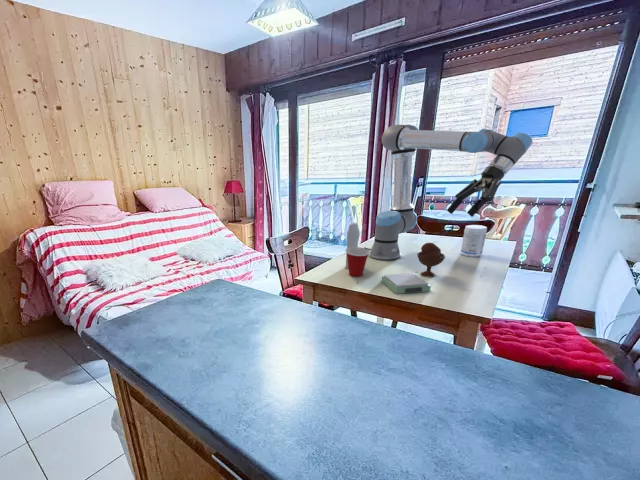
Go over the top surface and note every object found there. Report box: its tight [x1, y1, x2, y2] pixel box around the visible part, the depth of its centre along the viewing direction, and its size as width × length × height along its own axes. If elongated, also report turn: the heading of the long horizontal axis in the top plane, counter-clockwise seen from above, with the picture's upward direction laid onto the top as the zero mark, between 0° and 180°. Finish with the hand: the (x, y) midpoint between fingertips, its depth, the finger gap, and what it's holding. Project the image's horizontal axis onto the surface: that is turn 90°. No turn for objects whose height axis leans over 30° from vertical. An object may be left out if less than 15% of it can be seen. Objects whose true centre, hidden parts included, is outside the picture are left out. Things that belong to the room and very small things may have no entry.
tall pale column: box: [345, 222, 361, 270], centre depth 161 cm, size 11×4×22 cm, turn 134°
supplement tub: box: [460, 224, 488, 258], centre depth 168 cm, size 10×10×15 cm
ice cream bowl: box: [416, 242, 446, 278], centre depth 145 cm, size 11×11×15 cm
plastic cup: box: [344, 246, 371, 278], centre depth 150 cm, size 11×11×12 cm
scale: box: [381, 272, 431, 295], centre depth 136 cm, size 15×14×3 cm
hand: (458, 213), depth 138 cm, fingers open, 13 cm apart
